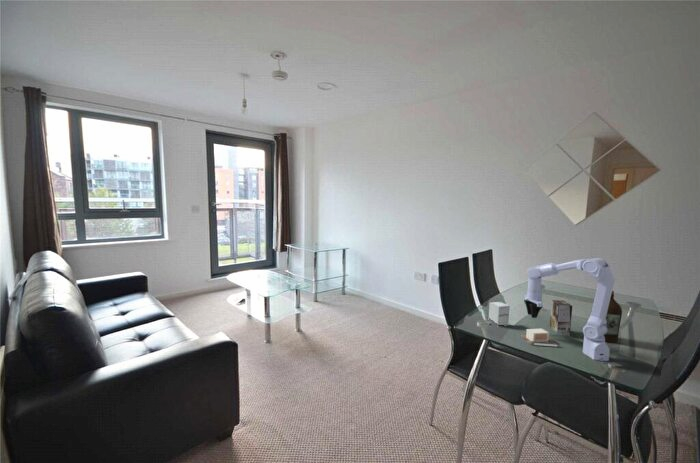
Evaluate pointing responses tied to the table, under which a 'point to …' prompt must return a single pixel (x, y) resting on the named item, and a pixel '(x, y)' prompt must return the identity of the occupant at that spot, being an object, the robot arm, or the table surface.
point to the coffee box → (561, 316)
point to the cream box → (537, 335)
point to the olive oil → (613, 320)
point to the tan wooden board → (535, 345)
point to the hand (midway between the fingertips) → (532, 316)
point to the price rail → (545, 344)
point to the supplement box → (499, 313)
